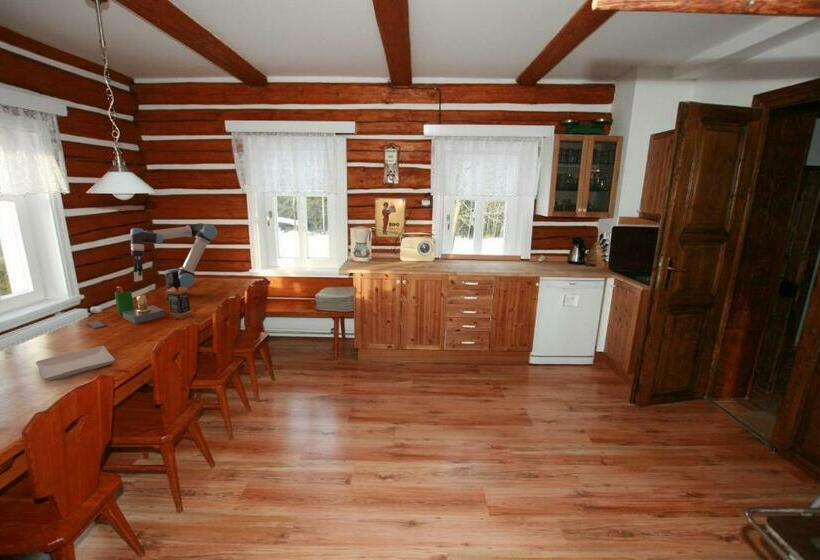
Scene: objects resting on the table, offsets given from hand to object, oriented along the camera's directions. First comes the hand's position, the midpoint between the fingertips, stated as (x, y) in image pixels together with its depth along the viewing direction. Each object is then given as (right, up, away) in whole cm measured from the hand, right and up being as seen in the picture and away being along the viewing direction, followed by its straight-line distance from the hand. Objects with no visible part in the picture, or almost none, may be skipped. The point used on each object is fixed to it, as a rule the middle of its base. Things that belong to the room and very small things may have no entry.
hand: (138, 280), depth 270 cm
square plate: (+22, -43, -75) cm, 90 cm away
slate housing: (+11, -26, -9) cm, 30 cm away
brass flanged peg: (+11, -25, -10) cm, 29 cm away
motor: (-10, -23, +2) cm, 25 cm away
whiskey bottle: (+33, -25, -4) cm, 42 cm away
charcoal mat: (-10, -28, -17) cm, 34 cm away
